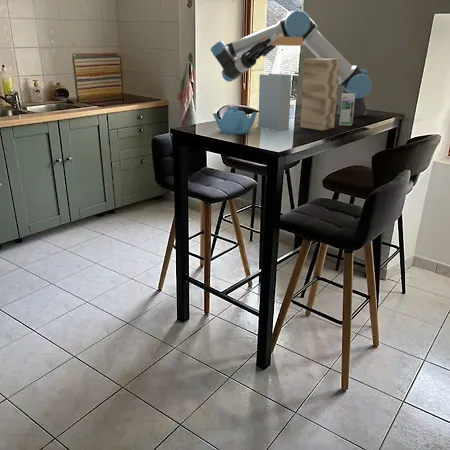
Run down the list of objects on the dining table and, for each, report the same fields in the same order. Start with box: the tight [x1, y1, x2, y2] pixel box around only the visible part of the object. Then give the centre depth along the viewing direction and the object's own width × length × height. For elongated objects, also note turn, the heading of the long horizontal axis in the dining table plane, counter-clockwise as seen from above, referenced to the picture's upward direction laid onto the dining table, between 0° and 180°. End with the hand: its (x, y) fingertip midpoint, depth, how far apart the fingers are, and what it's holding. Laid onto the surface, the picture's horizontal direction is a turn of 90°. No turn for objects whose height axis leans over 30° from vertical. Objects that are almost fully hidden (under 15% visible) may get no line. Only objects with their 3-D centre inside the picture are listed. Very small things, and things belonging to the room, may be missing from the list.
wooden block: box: [300, 57, 340, 131], centre depth 209 cm, size 10×12×30 cm
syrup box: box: [338, 93, 355, 127], centre depth 218 cm, size 6×6×14 cm
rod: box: [263, 37, 303, 47], centre depth 209 cm, size 4×20×4 cm, turn 45°
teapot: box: [212, 106, 258, 135], centre depth 203 cm, size 15×15×11 cm
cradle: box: [257, 73, 292, 131], centre depth 210 cm, size 8×12×24 cm, turn 46°
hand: (279, 35), depth 210 cm, fingers closed on rod, 3 cm apart
